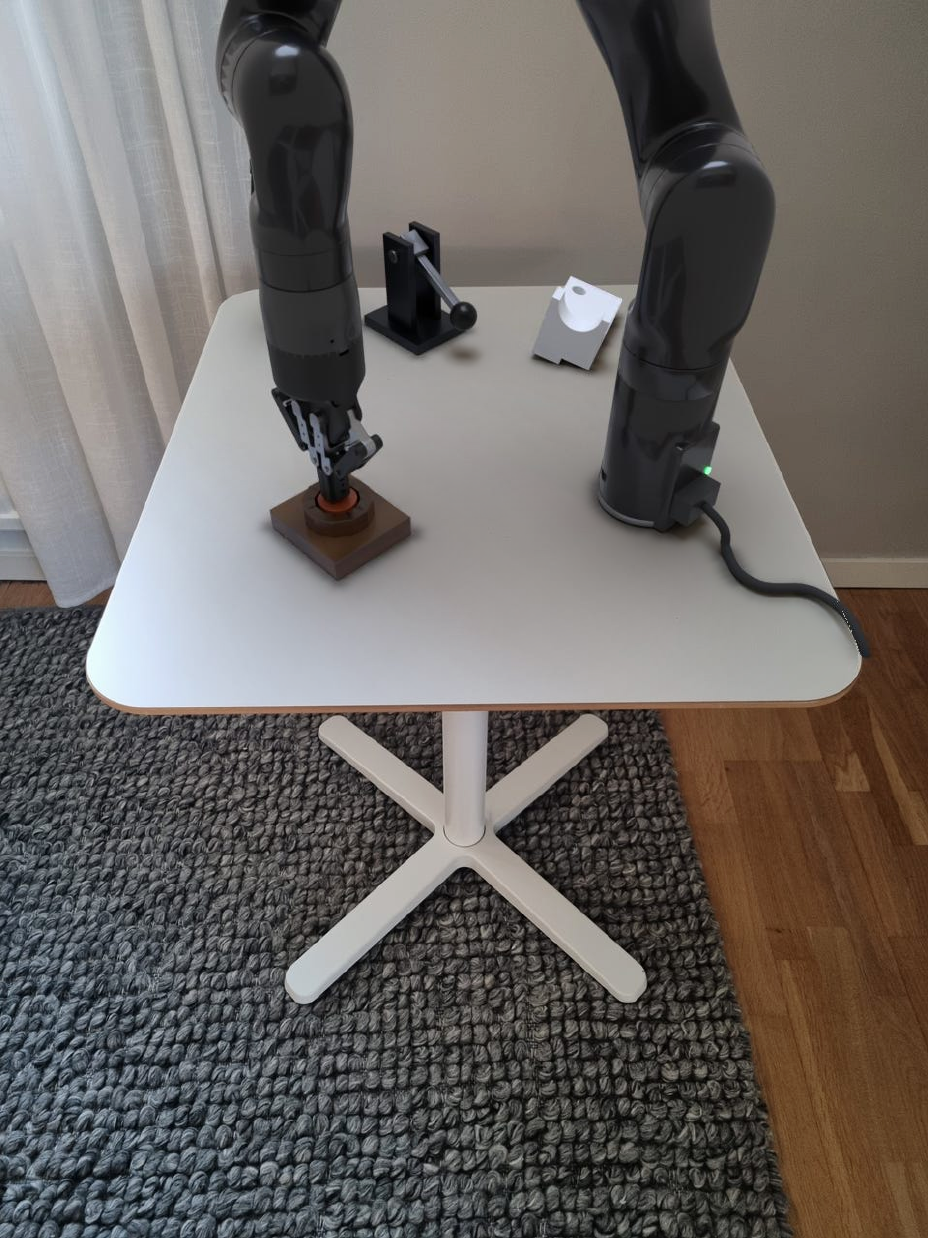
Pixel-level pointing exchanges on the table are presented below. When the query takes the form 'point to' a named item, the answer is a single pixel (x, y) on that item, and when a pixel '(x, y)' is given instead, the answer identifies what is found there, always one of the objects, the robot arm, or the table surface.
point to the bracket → (576, 323)
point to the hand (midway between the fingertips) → (335, 496)
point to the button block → (341, 528)
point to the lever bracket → (411, 295)
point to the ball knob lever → (442, 285)
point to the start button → (338, 504)
